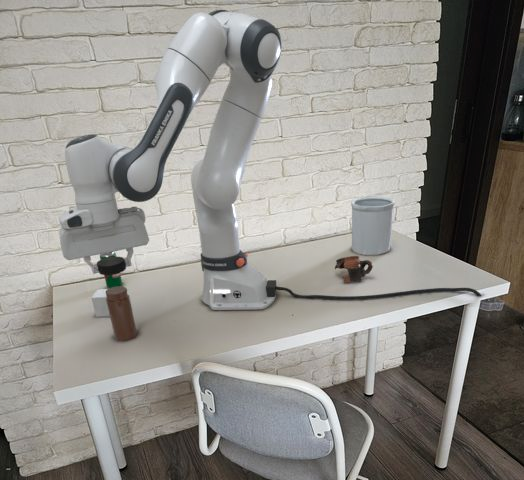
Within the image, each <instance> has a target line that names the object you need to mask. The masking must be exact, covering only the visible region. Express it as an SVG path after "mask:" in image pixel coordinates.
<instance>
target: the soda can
mask: <svg viewBox="0 0 524 480" xmlns="http://www.w3.org/2000/svg"><path fill="white" fill-rule="evenodd" d="M108 257H117V254H116V251H114V252H109V253H104V254H99V260H101V259H104V258H108ZM103 277H104V280H105V286H106V287H107V289H109V288H112V287H117V286H123V281H122V280H123V279H122V276H121V273H118V274H114V275H103Z"/></svg>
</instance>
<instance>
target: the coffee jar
mask: <svg viewBox="0 0 524 480" xmlns="http://www.w3.org/2000/svg"><path fill="white" fill-rule="evenodd" d="M106 289H107V290H106V292H105V293H106V297H107V298H106V302H107V306H108V311H109V315H110V316H109V319H110V323H111V327H112V331H113V336H114V339H115V340H116V341H119V342H120V341H121V342H125V341H129V340H133V339H134V338H136V337H137V335H138V331H137V325H136V321H135V316H134V311H133V307H132V303H131V298H130V295H129V294H128V288H127V287H125V286H123V285H121V286H117V287H112V288H106Z"/></svg>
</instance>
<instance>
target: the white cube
mask: <svg viewBox="0 0 524 480" xmlns="http://www.w3.org/2000/svg"><path fill="white" fill-rule="evenodd" d="M107 289H108V288H101V289H97V290H96V291H95V292H94V294H93V295H92V296H91V302H92V303H91V304H92V306H93V311H94V314H95V317H98V318H99V317H110V315H109V311H108V306H107V302H106V298H107V297H106V293H105V292H106V290H107Z"/></svg>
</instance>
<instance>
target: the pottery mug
mask: <svg viewBox="0 0 524 480" xmlns="http://www.w3.org/2000/svg"><path fill="white" fill-rule="evenodd" d="M335 262H336V264H335V266H334V270H337V269H340V270H341V269H342V270H343V269H344V270H346V271H347V273H348V274H346V275H343V276H342V281H343V283H344V284H346V283H352V282H353V283H356V282H362V278H365V276H366V275H369V273H370V272H371V271H372V270H373V267H374V266H373V263H372V261H371V260H369V259H365V260H361V259H360V256H359V255H351V256H344V257H340V258H338V259H336V261H335ZM366 266H367V268H366ZM365 268H366V269H365Z"/></svg>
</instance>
